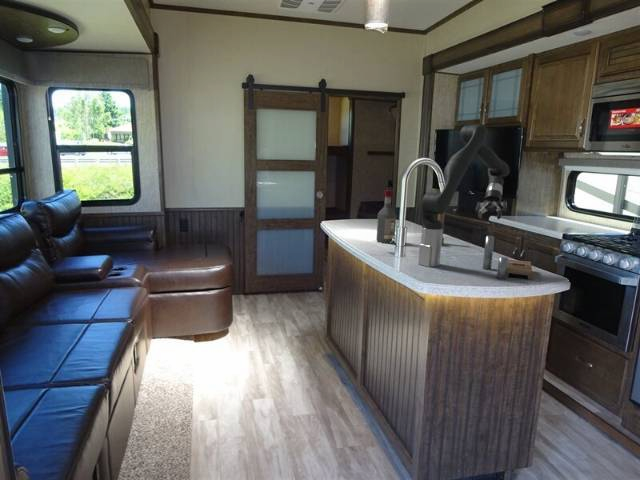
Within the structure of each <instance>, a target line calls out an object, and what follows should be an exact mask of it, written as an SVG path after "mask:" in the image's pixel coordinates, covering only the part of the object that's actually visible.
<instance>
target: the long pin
mask: <svg viewBox="0 0 640 480" xmlns="http://www.w3.org/2000/svg"><path fill="white" fill-rule="evenodd" d="M484 240H485V243H484V251H483V252H484V254H483V261H482V269H483V270H485V271H491V270H492V266H493V265H492V262H493V256H494V255H493V254H494V245H495V236H493V235H486V236H485V239H484Z"/></svg>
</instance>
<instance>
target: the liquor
mask: <svg viewBox="0 0 640 480" xmlns="http://www.w3.org/2000/svg"><path fill="white" fill-rule="evenodd" d="M392 192H393V191H392V190H391V189H389V190H388V189H386V190H384V205H383V207H382V209H380V210H379V212H378V213H377V223H376V225H377V227H376V242H377V243H380V242H381V243H380V244H386V243H389V244H391V243H390V242H391V241H392V237H393V236H396V223H397V222H396V221H397V220H396V219H397V213H396V212H395V211H394V210H393V208H392V203H391V202H392Z"/></svg>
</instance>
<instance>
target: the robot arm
mask: <svg viewBox="0 0 640 480" xmlns="http://www.w3.org/2000/svg"><path fill="white" fill-rule="evenodd" d="M459 135H460V136H459V137H460V140H461V142H462V143H463V144H464V145H465V146H464V147H463V148H461V149H459V150H458V151H457V152H456V153H454V154H453V155H452V156H451V157H450V158H449V159H448V161H447V164H446V166H445V167H444V170H443V177H444V183H445V184H444V188H443V189H442V190H441V192H440V193H437V192H436V193H435V192H427V193H425V194H424V196H423V197H422V200H421V217H420V218H421V220H420V221H421V227H422V228H421V238H420V244H419V248H418V261H417V263H418V265H421V266H425V267H429V268H430V267H439V266H440V265H441V255H442V254H441V251H442V244H441V243H442V232H443V233H444V228H443V223H442V222H441V221H439V220H438V217H436V214H437V215H438V214H443V213H446V212H447V210H448V208H449V207H450V204H451V202H452V200H453V198H454V195H455V192H456V190H457V188H458V186H459V185H460V182H461V181H462V178H463V177H464V176H465V174H466V172H467V170H468V168H469V165H470V164H471V162H472V161H473V159H474V157H475V156H477V157H479V159H480V160H481V161H482V162H483V165H485V167H486V168H487V175H488V185H487V187H486V192H485V196H484V201H483V202H480V201H477V203H476V207H475V213H476V214H477V217H478V219H479V220H480V221H482V218H483V214H484V213H486V212H487V211H488V212H489V211H496V212H497V215H496V218H497V220H500V219H501V218H502V214H503V213H504V214H506V213H507V209H508V203H507V200H503V201H502V196H503V188H504V178H503V177H506V176H508V175H509V174H510V171H511V170H510V167H509V164H508V163H507V162H506V161H504V160H502V159H501V158H500V157H499V156H498V155H497V154H496V153H495V151H494V150H493V149H492V148H490V147H489V146H487V145H485V144H484V142H485V141H486V139H487V136H488V129H487V127H486V125H485V124H479V123H478V124H476V123H475V124H466V125H464V126H462V128H461V129H460V132H459ZM501 206H502V208H501Z"/></svg>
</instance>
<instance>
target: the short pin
mask: <svg viewBox="0 0 640 480" xmlns="http://www.w3.org/2000/svg"><path fill="white" fill-rule="evenodd" d="M508 260H509V257H506V256H499V257H498V263H497V272H496V280H500V281H501V280H503V281H505V280H507V277H506V274H507V265H508Z"/></svg>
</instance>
